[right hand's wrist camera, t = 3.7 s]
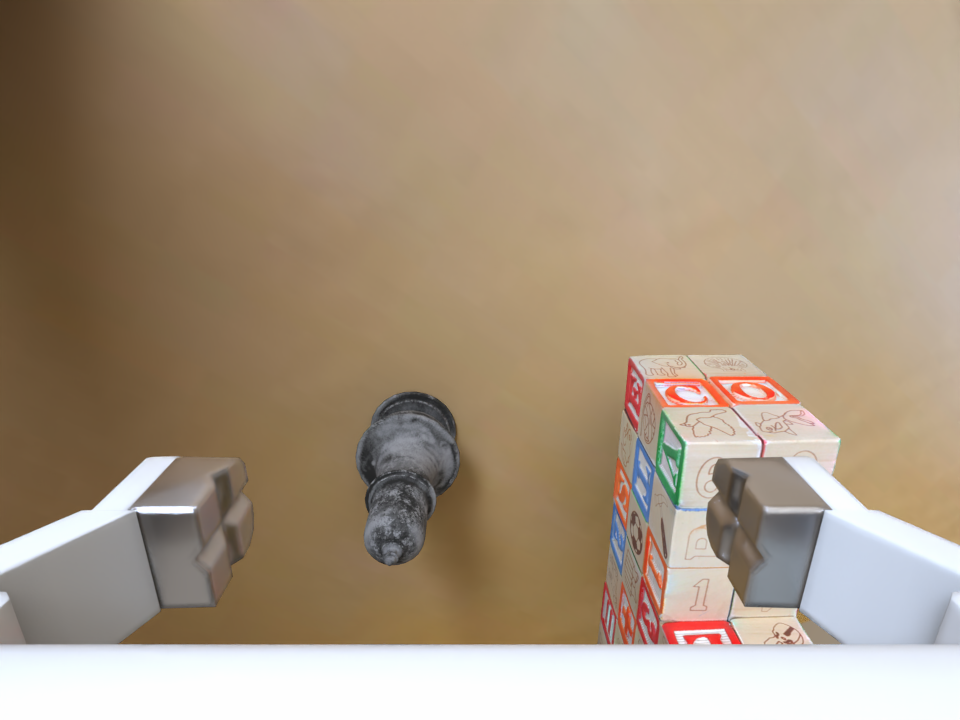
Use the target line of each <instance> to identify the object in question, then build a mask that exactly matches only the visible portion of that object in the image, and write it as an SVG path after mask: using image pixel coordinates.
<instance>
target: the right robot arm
mask: <svg viewBox="0 0 960 720" xmlns="http://www.w3.org/2000/svg"><path fill="white" fill-rule="evenodd" d="M247 482H248V476H247V471H246V467H245V463H244V462H243V461H242V460H241V459H240V458H228V457H180V456H162V457H149V458H146V459H145V460H144V461H143V462H142V463H141V464H140V465H139V466H138V467H137V468H135V469H134V470H133V471H132V472H131V473H130V474H129V475H128V476H127V477H126V478H125V479H124V480H123V481H122V482H121V483H120V484H119V485H118V486H117V487H116V488H114V489H113V490H112V491H111V492H110V493H109V494H108V495H107V496H106V497H105V498H104V499H103V500H102V501H101V502H100V503H99V504H98V505H97V506H96V507H95V508H94V509H92V510H81V511H79V512H77V513H74V514H72V515H70V516H67V517H65V518H63V519H60V520H58V521H56V522H53V523H51V524H49V525H46V526H44V527H42V528H39V529H37V530H35V531H32V532H30V533H28V534H25V535H23V536H21V537H18V538H16V539H14V540H11V541H9V542H7V543H4V544H2V545H0V720H960V545H958V544H955V543H953V542H951V541H948V540H946V539H944V538H941V537H939V536H937V535H935V534H932V533H930V532H928V531H925V530H923V529H921V528H918V527H916V526H914V525H911V524H909V523H907V522H904V521H902V520H900V519H897V518H895V517H893V516H890V515H888V514H886V513H883V512H881V511H879V510H868V509H867V508H865V507H864V506H863V505H862V504H861V503H860V502H859V501H858V500H857V499H856V498H855V497H854V496H853V495H852V494H851V493H850V492H849V491H848V490H847V489H846V488H845V487H844V486H842V485H841V484H840V483H839V482H838V481H837V480H836V479H835V478H834V477H833V476H832V475H831V474H830V473H829V472H828V471H827V470H826V469H825V468H824V467H823V466H822V465H821V464H819V463H818V462H817V461H816V460H815V459H814V458H811V457H808V456H793V457H755V458H723V459H718V460H717V462H716V464H715V466H714V470H713V476H712V482H713V483H714V485H715V486H716V488H717V489H718V491H719V492H718V493H717V494H716V495H715V496H714V497H713V498H712V499H711V500H710V501H709V502H708V506H707V513H706V527H707V536H708V539H709V542H710V546H711V548H712V550H713V552H714V554H715V556H716V557H717V558H718V559H720V560H721V561H723V562H724V563H726V564H727V565H729V570H728V575H727V577H728V579H729V581H730V582H731V584H732V586H733V588H734V589H735V591H736V593H737V595H738V596H739V598H740V600H741V602H742V603H743V605H744V607H765V608H800V609H799V611H800V612H801V613H802V614H804V615H805V616H806V617H808V618H809V619H810V620H812V621H813V622H814V623H816V624H817V625H818V626H819V627H821V628H822V629H823V630H825V631H826V632H827V633H828V634H830V635H831V636H832V637H834V638H835V639H836V640H838V641H839V642H840V643H841V644H119V643H120V642H121V641H123V640H124V639H125V638H127V637H128V636H129V635H130V634H132V633H133V632H134V631H136V630H137V629H138V628H140V627H141V626H142V625H143V624H145V623H146V622H147V621H149V620H150V619H151V618H153V617H154V616H155V615H156V614H158V613H159V612H160V611H161V609H160V608H193V607H216V605H217V603H218V602H219V600H220V598H221V596H222V595H223V593H224V591H225V589H226V588H227V586H228V584H229V582H230V581H231V579H232V577H233V575H232V570H231V565H233V564H234V563H236V562H237V561H239V560H240V559H242V558H243V557H244V556H245V554H246V552H247V550H248V548H249V546H250V543H251V539H252V534H253V530H254V512H253V505H252V502H251V501H250V500H249V499H248V498H247V497H246V496H245V495H244V494H243V493H242V492H241V491H242V489H243V488H244V486H245V485H246V483H247Z"/></svg>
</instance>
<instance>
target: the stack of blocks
mask: <svg viewBox="0 0 960 720" xmlns="http://www.w3.org/2000/svg"><path fill="white" fill-rule="evenodd" d="M800 404H801V403H800V402H799V401H798V400H797V399H796V398H795V397H794V396H792V395H791V394H790V393H789V392H788V391H787V390H785V389H784V388H783V387H782V386H780V385H779V384H778V383H777V382H775V381H774V380H773V379H772V378H770V377H767V375H766V374H765V373H764V372H762V371H761V370H760V369H759V368H757V367H756V366H755V365H754V364H752V363H751V362H750V361H748V360H747V359H746V358H745V357H744V356H742V355H689V356H685V355H646V356H632V357H629V361H628V374H627V385H626V395H625V409H624V410H623V411H622V420H621V429H620V440H619V450H618V454H619V456H618V459H617V466H616V476H615V485H614V494H613V499H614V506H613V517H612V526H611V535H610V548H609V557H608V567H607V577H606V581H605V584H604V592H603V601H602V610H601V620H600V626H599V635H598V644H813V643H812V641H811V640H810V638H809V636H808V635H807V633H806V632H805V630H804V629H803V627H802V625H801V624H800V622H799V621H798V619H797V618H796V615H797V611H798V608H765V607H744V605H743V603H742V602H741V600H740V598H739V596H738V595H737V593H736V591H735V589H734V588H733V586H732V584H731V582H730V581H729V579H728V577H727V575H728V570H729V565H727V564H726V563H724V562H723V561H721V560H720V559H718V558H717V557H716V556H715V554H714V552H713V550H712V548H711V546H710V542H709V539H708V536H707V527H706V513H707V506H708V502H709V501H710V500H711V499H712V498H713V497H714V496H715V495H716V494H717V493H718V492H719V491H718V489H717V488H716V486H715V485H714V483H713V482H712V476H713V470H714V466H715V464H716V462H717V460H718V459H723V458H755V457H793V456H808V457H811V458H814V459H815V460H816V461H817V462H818V463H819V464H821V465H822V466H823V467H824V468H825V469H826V470H827V471H828V472H829V473H830V474H831V475H832V474H833V471H834V468H835V463H836V459H837V456H838V452H839V448H840V444H841V439H840V438H839V437H838V436H836V435H835V434H834V433H833V432H832V431H831V430H830V429H828V428H827V427H826V426H825V425H824V424H823V423H821V422H820V421H819V420H818V419H817V418H815V417H814V416H813V415H812V414H811V413H810V412H809V411H807V410H806V409H805V408H804V407H802V406H801V405H800Z"/></svg>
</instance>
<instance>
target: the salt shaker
mask: <svg viewBox="0 0 960 720" xmlns="http://www.w3.org/2000/svg"><path fill="white" fill-rule="evenodd" d="M455 436H456V429H455V422H454V419H453V416H452V414H451V412H450V411H449V410H448V408H447V407H446V406H445V405H444V404H443V403H442V402H441V401H439V400H438V399H436V398H434V397H432V396H430V395H428V394H424V393H419V392H404V393H400V394H397V395H394V396H392V397H390V398H388V399H387V400H385V401H384V402H383V403H382V404H381V405H380V406H379V407H378V408H377V410H376V411H375V413H374V415H373V417H372V422H371V426H370V427H369V428H368V429H367V430H366V431H365V432H364V434H363V436H362V437H361V439H360V441H359V443H358V446H357V452H356V463H357V469H358V471H359V474H360V476H361V478H362V480H363V481H364V482H365V484H366V485H367V486H368V489H367V492H366V497H365V503H366V508H367V510H368V513H369V515H368V519H367V523H366V527H365V531H364V543H365V547H366V549H367V551H368V553H369V554H370V555H371V556H372V557H373V558H374V559H376V560H377V561H378V562H381V563H383V564H387V565H388V566H391V565H400V564H403V563H406V562H408V561H410V560H412V559H413V558H414V557H416V556H417V555H418V554H419V552H420V550H421V549H422V547H423V544H424V540H425V534H426V524H427V520H428V519H429V518H430V517H431V516H432V514H433V512H434V510H435V506H436V497H437V496H439V495H441V494H443V493H444V492H445V491H446V490H447V489H448V488H449V487H450V486H451V485H452V483H453V481H454V480H455V478H456V477H457V473H458V470H459V466H460V456H459V450H458V447H457V444H456V441H455V440H454V439H455Z"/></svg>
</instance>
